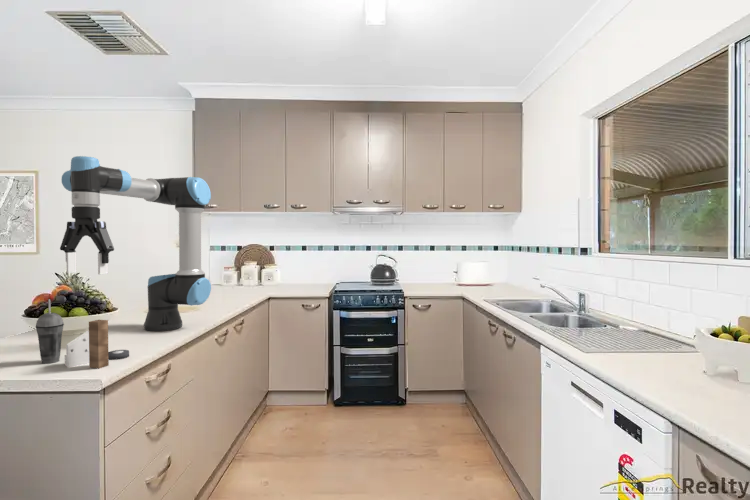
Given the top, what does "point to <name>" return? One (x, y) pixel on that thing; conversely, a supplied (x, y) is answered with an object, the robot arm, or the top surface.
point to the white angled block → (77, 351)
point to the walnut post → (98, 344)
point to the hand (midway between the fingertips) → (87, 273)
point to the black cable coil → (118, 354)
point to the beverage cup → (49, 336)
